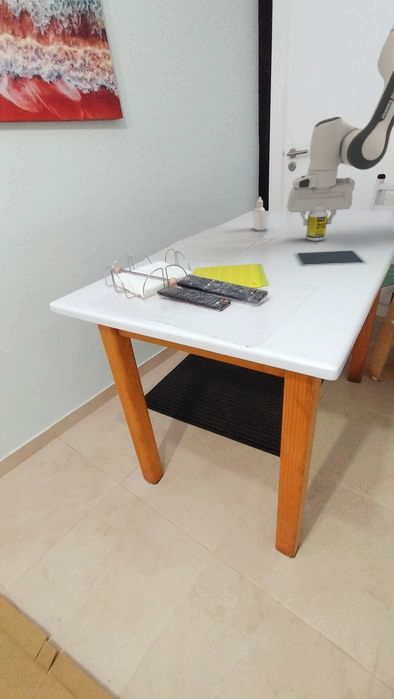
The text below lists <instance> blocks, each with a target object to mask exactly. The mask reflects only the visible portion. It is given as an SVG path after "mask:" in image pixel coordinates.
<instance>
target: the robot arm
mask: <svg viewBox="0 0 394 699" xmlns="http://www.w3.org/2000/svg"><path fill="white" fill-rule="evenodd" d="M380 50H381V51H380V53H379V57H378V59H377V70H378V73H379V75H380V77H381V79H382V80H383V89H382V92H381V95H380V96H379V98H378V101H377V103H376V105H375V107H374V110H373V112H372V115H371V116H370V119H369V121H368V122H367V124H366V125H365V126H364V127H363V128H358V127H356V126H354V125H351V124H349V123H348V122H346V121H345V120H344V119H343V118H342V117H341V116H333V117H330V118H326V119H323V120H321V121H319V122H317V123H316V124H315V125H314V127H313V129H312V133H311V139H310V146H309V165H308V168H307V173H306V174H304V175H301V176H299V177H296V178H294V179H293V180H292V188H291V189H290V191H289V193H288V198H287V205H286V209H287V211H288V212H289V213H290V214H291V213H293V214H294V213H300V214H299V215H300V217H301V219H302V226H304V227H305V226H306V227H307V225H308V221H309V220H308V218H306V217H305V216H306V215H307V212H308V213H310V212H311V211H316V210H315V208H316V206H325V207H324V211H326V212H327V211H329V212H330V215H329V217H327V224H326V225H332V221H333V219H334V217H335V216H336V214H337V211H341V210H350V208H351V207H352V205H353V192H354V190H355V186H356V182H355V180H354V179H353V178H352V177H338V170H339V166H340V165H341V164H342V165H345V166H349V167H353V168H355V169H357V170H359V171H361V170H362V171H364V170H365V171H366V170H369V169H372V168H374V167H376V165H378V164H379V163H380V162H381V161H382V160H383V158H384V157H385V155H386V153H387V150H388V146H389V142H390V138H391V133H392V131H393V128H394V24H393V25H392V27H391V29H390V31H389V33H388V35H387V37H386V39H385V41H384V43H383V45H382V47H381V49H380Z"/></svg>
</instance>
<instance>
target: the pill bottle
mask: <svg viewBox="0 0 394 699" xmlns="http://www.w3.org/2000/svg"><path fill="white" fill-rule="evenodd" d="M324 207H325V206H316V208H315V210H316V211H310V212H308V215H307V219H308V220H309V221H308V225H306V234H305V238H306V239H307V240H309V241H315V242H316V241H322V240H325V238H326V231H327V225H328V224H327V218H328V212H327V210H326V211H324Z"/></svg>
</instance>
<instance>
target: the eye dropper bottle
mask: <svg viewBox="0 0 394 699" xmlns="http://www.w3.org/2000/svg"><path fill="white" fill-rule="evenodd" d="M255 206H256V207H255V208H254V209H253V229H254V230H255V231H258V232H262V231H265V230H266V229H265V227H266V225H265V224H266V209H265V208H264V207H263V206H264V200H263V199H262V196H258V199H257V200H256V205H255Z"/></svg>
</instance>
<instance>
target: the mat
mask: <svg viewBox="0 0 394 699" xmlns="http://www.w3.org/2000/svg"><path fill="white" fill-rule="evenodd" d="M298 256H299V258H300V259H301V261H302V262H303V264H304V265H315V264H337V263H339V264H341V263H342V264H343V263H361V262H363V260H362V259H361V258H360V257H359V256H358V254H356V253H355V252H354V251H353V250H338V251H319V252H318V251H315V252H314V251H313V252H298Z"/></svg>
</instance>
